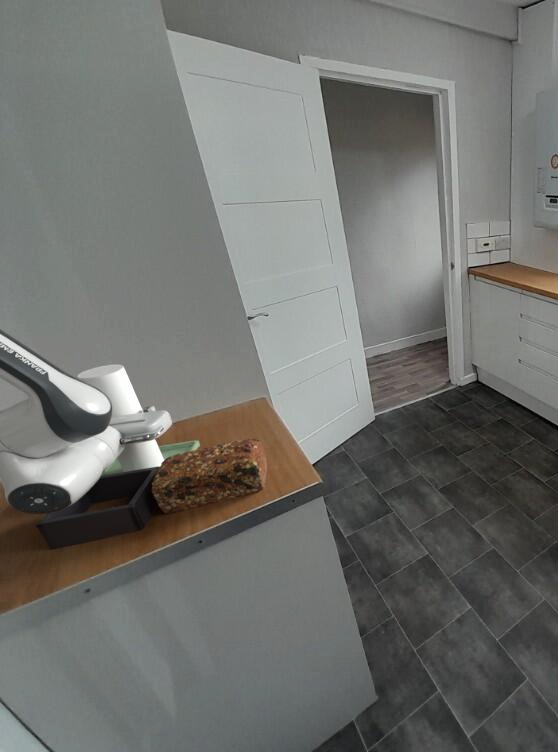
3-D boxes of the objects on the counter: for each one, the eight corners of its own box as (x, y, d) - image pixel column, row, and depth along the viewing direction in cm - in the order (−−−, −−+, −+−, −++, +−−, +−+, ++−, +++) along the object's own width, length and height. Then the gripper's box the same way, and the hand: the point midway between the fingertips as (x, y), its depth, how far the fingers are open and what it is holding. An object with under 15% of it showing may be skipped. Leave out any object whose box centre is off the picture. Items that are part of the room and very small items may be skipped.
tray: (82, 499, 87) (79, 493, 86) (117, 458, 100) (114, 452, 99) (179, 482, 92) (176, 476, 92) (200, 445, 105) (198, 439, 105)
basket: (50, 549, 75) (35, 524, 73) (88, 502, 86) (77, 479, 84) (143, 530, 80) (132, 506, 77) (168, 488, 91) (159, 466, 88)
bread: (270, 465, 98) (260, 430, 94) (265, 494, 89) (253, 457, 85) (176, 485, 91) (160, 449, 87) (160, 519, 82) (142, 480, 78)
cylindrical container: (132, 463, 97) (87, 367, 87) (169, 456, 100) (129, 362, 90) (119, 481, 91) (69, 380, 81) (158, 473, 94) (114, 374, 84)
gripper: (151, 423, 81) (177, 393, 93) (15, 442, 74) (60, 407, 86) (162, 450, 84) (185, 417, 95) (30, 470, 77) (73, 432, 89)
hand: (125, 412), depth 91 cm, fingers open, 8 cm apart
